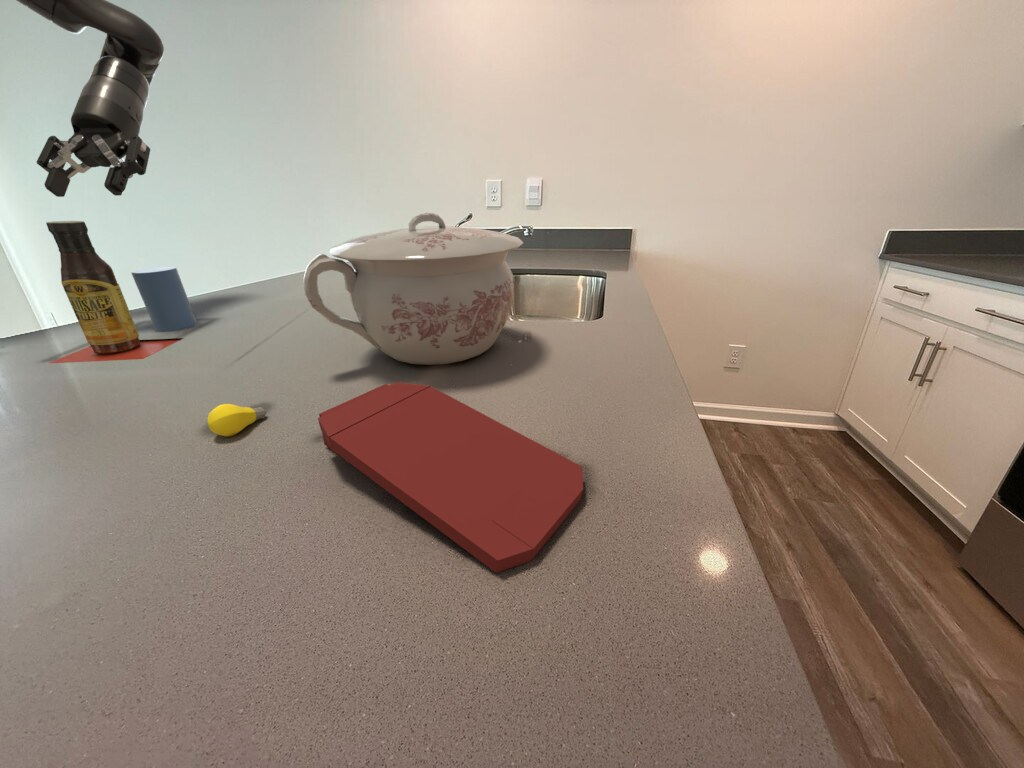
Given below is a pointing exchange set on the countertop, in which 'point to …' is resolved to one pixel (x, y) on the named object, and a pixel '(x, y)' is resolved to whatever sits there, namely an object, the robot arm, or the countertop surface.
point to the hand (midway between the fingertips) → (83, 192)
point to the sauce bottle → (93, 291)
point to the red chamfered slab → (457, 469)
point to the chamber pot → (423, 289)
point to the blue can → (164, 298)
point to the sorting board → (138, 352)
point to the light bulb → (232, 418)
